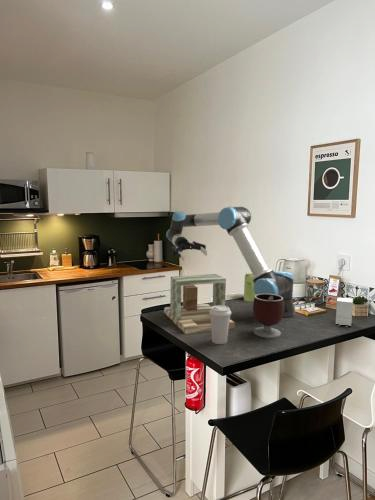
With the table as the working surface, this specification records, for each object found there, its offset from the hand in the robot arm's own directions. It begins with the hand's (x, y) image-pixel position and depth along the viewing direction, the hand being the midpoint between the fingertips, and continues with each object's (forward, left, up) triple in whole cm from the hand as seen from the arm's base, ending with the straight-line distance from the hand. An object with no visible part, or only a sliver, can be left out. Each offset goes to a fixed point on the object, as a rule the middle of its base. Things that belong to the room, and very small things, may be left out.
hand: (195, 255), depth 211 cm
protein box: (-15, -43, -31) cm, 55 cm away
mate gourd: (-49, +6, -31) cm, 58 cm away
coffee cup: (-38, +30, -31) cm, 57 cm away
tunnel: (-13, +13, -30) cm, 35 cm away
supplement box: (-71, -32, -31) cm, 83 cm away
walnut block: (-3, +8, -27) cm, 29 cm away
